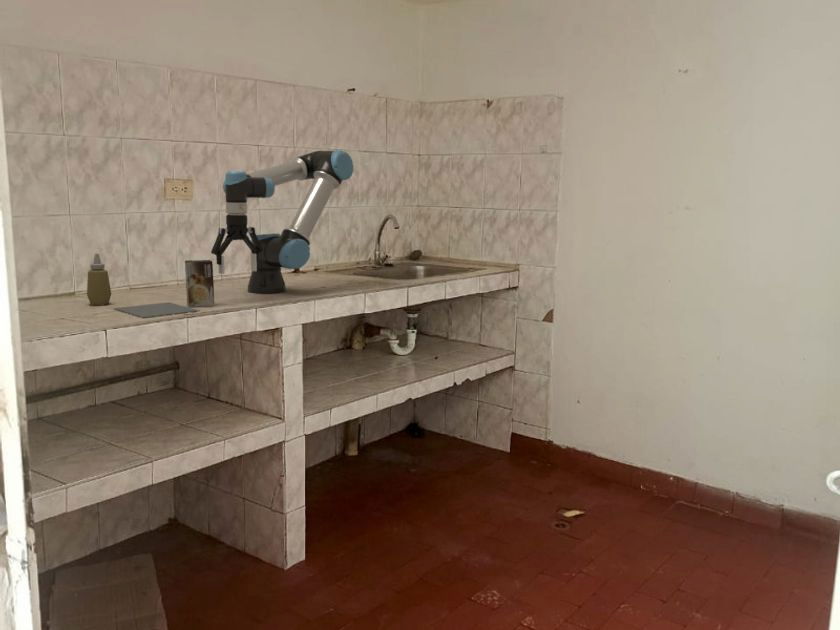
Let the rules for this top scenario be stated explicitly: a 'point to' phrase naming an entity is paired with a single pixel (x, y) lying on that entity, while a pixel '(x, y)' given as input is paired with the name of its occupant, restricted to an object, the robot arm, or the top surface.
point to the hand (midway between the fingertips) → (238, 272)
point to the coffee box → (199, 283)
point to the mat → (156, 309)
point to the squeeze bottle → (98, 283)
